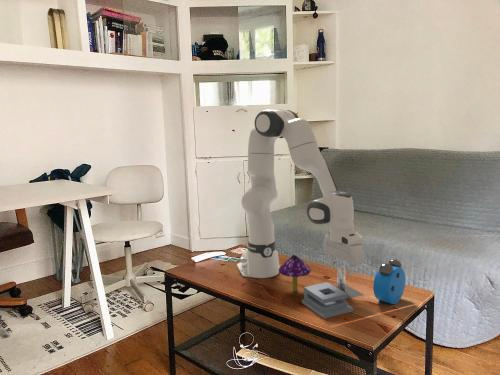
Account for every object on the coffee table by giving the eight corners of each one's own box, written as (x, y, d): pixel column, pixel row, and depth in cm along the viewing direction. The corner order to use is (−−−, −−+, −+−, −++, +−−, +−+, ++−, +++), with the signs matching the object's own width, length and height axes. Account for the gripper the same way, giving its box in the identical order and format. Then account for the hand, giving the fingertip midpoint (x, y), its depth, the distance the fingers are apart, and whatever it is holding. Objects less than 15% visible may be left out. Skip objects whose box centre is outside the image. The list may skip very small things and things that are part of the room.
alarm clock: (389, 293, 151) (390, 255, 149) (405, 298, 146) (407, 258, 144) (372, 305, 142) (373, 264, 140) (389, 310, 137) (389, 268, 135)
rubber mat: (319, 290, 156) (319, 289, 156) (344, 284, 161) (344, 283, 161) (337, 302, 145) (337, 301, 145) (364, 295, 150) (364, 294, 150)
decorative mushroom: (288, 301, 147) (287, 261, 145) (273, 289, 159) (272, 252, 156) (317, 295, 151) (317, 256, 149) (301, 283, 163) (300, 248, 161)
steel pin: (335, 291, 153) (335, 266, 152) (342, 289, 155) (342, 265, 153) (340, 294, 151) (340, 268, 149) (346, 292, 152) (347, 267, 151)
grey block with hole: (301, 303, 145) (301, 287, 144) (329, 297, 149) (329, 281, 149) (323, 319, 132) (323, 302, 131) (353, 312, 137) (353, 295, 136)
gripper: (319, 230, 158) (320, 264, 159) (352, 242, 139) (353, 280, 141) (332, 228, 160) (333, 261, 162) (366, 239, 141) (367, 276, 143)
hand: (342, 270), depth 151 cm, fingers open, 8 cm apart
